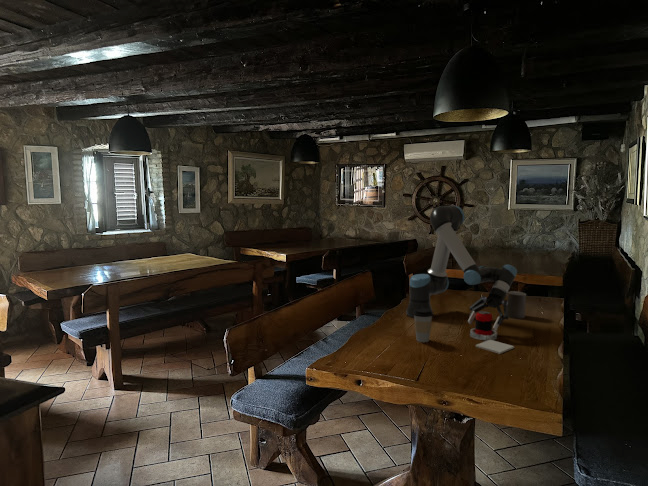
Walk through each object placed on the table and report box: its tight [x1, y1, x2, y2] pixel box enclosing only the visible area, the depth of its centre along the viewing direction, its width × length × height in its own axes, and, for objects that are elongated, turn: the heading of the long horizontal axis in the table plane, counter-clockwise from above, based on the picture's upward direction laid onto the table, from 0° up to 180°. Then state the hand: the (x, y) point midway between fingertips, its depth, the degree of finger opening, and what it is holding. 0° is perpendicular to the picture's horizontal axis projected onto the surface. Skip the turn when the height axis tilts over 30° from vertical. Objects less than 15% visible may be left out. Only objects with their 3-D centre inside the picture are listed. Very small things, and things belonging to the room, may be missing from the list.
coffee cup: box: [413, 308, 434, 344], centre depth 207 cm, size 9×9×15 cm
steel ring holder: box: [469, 327, 498, 341], centre depth 213 cm, size 12×12×2 cm
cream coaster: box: [475, 340, 515, 355], centre depth 198 cm, size 12×12×1 cm
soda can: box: [474, 310, 493, 335], centre depth 213 cm, size 8×8×12 cm
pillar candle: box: [506, 290, 527, 320], centre depth 247 cm, size 10×10×15 cm
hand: (481, 326), depth 211 cm, fingers open, 13 cm apart
